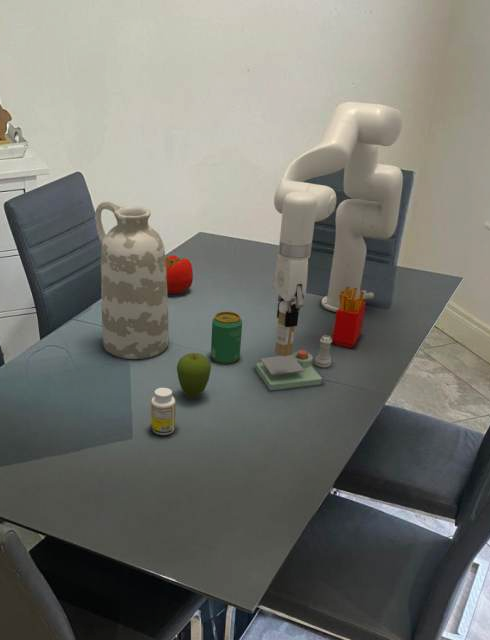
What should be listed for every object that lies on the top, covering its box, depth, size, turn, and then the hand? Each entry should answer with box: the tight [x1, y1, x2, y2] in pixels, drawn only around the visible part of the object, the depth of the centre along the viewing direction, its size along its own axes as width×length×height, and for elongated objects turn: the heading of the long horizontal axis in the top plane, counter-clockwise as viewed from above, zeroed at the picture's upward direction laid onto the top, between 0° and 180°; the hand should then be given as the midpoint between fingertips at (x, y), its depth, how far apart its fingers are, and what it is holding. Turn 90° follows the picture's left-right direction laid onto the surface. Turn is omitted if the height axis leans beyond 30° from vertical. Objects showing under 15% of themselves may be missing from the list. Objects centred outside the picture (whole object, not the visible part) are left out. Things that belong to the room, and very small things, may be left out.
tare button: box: [297, 349, 309, 360], centre depth 196 cm, size 3×3×2 cm
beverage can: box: [210, 311, 243, 365], centre depth 200 cm, size 8×8×12 cm
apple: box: [176, 352, 212, 399], centre depth 184 cm, size 9×8×12 cm
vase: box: [94, 201, 170, 360], centre depth 198 cm, size 20×19×38 cm
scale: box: [254, 351, 323, 391], centre depth 194 cm, size 15×12×4 cm
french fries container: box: [331, 286, 367, 349], centre depth 208 cm, size 7×9×14 cm
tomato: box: [165, 254, 194, 295], centre depth 238 cm, size 14×13×10 cm
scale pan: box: [259, 354, 305, 375], centre depth 192 cm, size 9×9×1 cm
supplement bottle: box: [150, 387, 176, 436], centre depth 171 cm, size 6×6×10 cm
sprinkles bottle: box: [274, 300, 296, 356], centre depth 186 cm, size 5×5×14 cm
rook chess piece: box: [314, 334, 332, 369], centre depth 198 cm, size 4×4×8 cm
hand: (286, 321), depth 185 cm, fingers closed on sprinkles bottle, 4 cm apart
